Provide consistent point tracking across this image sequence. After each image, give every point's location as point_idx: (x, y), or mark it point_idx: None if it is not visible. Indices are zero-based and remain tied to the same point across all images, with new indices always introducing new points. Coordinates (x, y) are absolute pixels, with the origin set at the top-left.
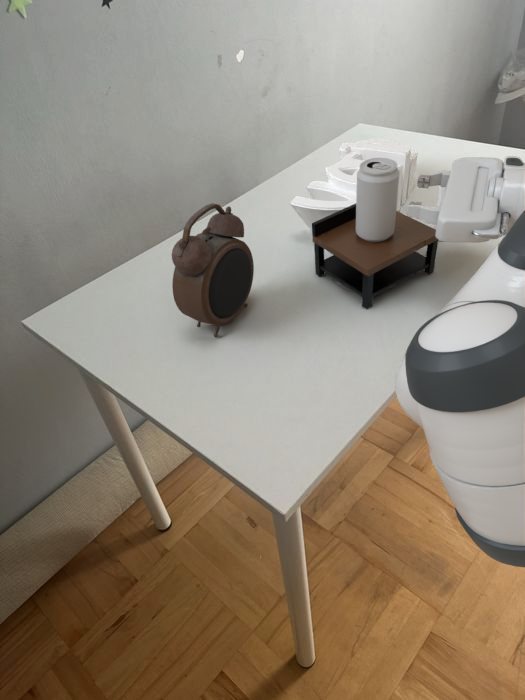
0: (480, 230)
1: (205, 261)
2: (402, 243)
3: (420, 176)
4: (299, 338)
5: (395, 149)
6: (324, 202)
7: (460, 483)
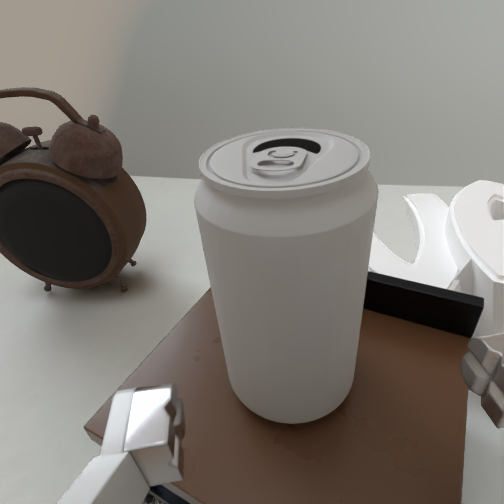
0: None
1: None
2: (266, 481)
3: (494, 337)
4: (32, 394)
5: None
6: None
7: None
